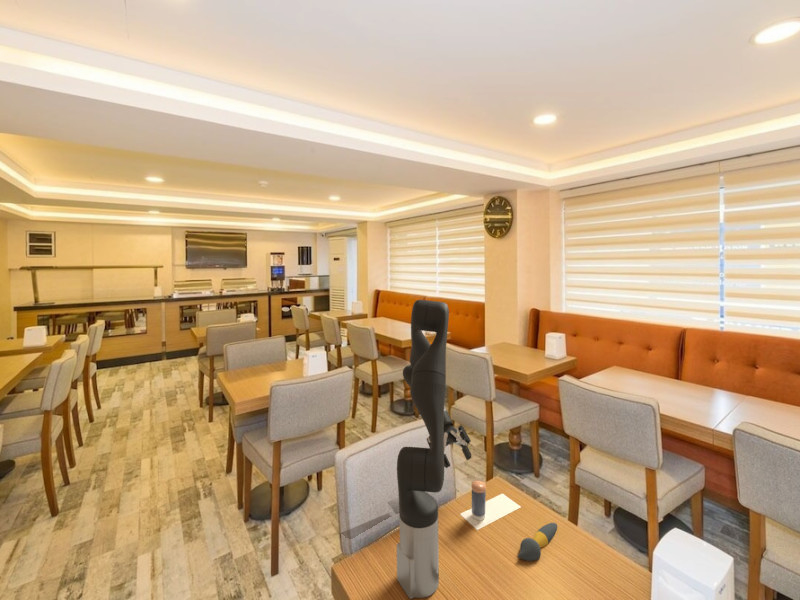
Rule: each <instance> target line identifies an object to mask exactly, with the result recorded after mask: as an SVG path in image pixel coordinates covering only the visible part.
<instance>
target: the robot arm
mask: <svg viewBox="0 0 800 600" xmlns="http://www.w3.org/2000/svg"><path fill="white" fill-rule="evenodd" d="M449 310H450V309H449V306H448V304H447V302H443V301H436V300H428V299H427V300H426V299H417V300H415V302H414V303H413V306H412V308H411V315H410V340H411V341H410V342H411V350H410V355H409V365H406V366H404V368H403V370H402V377H403V380H404V381H405V383H406V384H407V385H408V386H409V388H410V390H409V392H410V397H411V401H412V403H413V404H414V406H415V408H416V410H417V411H418V413H419V415H420V417H421V419H422V421H423V423H424V425H425V428H426V430H427V432H428V436H427V437H426V442H427V444H428V447H418V446H417V447H416V446H403V447H402V448H401V449H400V450H399V453H398V456H397V458H396V459H397V460H396V461H397V462H396V477H397V490H398V507H399V512H398V514H399V542H398V543H396V581H397V582H398V583H399V585H400V586H401V588H402V589H403V591H404V593H405V594H406V595H407V597H408V598H409V600H413V599H414V598H415V599H416V598H417V599H418V598H420V599H422V598H428V597H430V596H431V595H433V594H434V593H435V592H436V591H437V589H438V587H439V581H440V580H439V579H440V577H439V576H440V574H439V573H440V570H439V568H440V567H439V566H440V565H439V560H440V559H439V557H440V556H439V505H438V502H437V500H436V499H435V497H434V496H432V495H431V494H430V493H439V492H441V491H442V488H443V486H444V481H445V469H448V468H450V467H451V463H450V461H449V459H448V456H447V454H446V453H445V449H446V447H447V446H449V445H450V446H451V445H453V444H454V445H456V446H458V447H460V448H461V451H462V453H463V455H464V458H465V460H466V461H468V460H471V459H472V453H471V451H470V448H469V446H468V445H469V444H470V443H471V439H470V437H469V435H468V433H467V432H466V430H465V427H464V426H463V425H462V424H460V425H458V427H455V426H454V422H453V419H452V418H451V415H450V414H449V412H448V409H447V407H446V404H445V403H446V402H445V401H446V385H447V381H446V379H447V374H446V373H447V365H446V364H447V361H446V360H447V359H446V358H447V341H448V333H449V320H450V319H449V318H450V311H449ZM423 331H424V332H432V333H435V337H434V339H433V340H432V342H431V343H430V341H429V340H428V339H427V337H426V335H424V333H423Z"/></svg>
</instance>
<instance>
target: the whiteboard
mask: <svg viewBox="0 0 800 600" xmlns="http://www.w3.org/2000/svg"><path fill="white" fill-rule="evenodd" d="M520 508H522V507H521V505H519V504H518V503H516V502H515V501H513V499H511V498H509V497H508V496H507V495H505V494H504V493H500V494H498V495H496V496H494V497H491V498H490V499H488V500H486V509H485V519H484V520H483V521H476V520H474V519H473V518H472V507H471V508H470V509H468V510H465V511H463V512H461V513H459V515H460V516H461V517H462V518H463V519H465V520H466V521H467V522H468V524H469V525H471V526H472V527H473V528H475V530H476V531H478V530H480V529H482V528H484V527H486V526H488V525H490V524H491V523H493V522H496V521H497V520H500V519H501V518H503V517H505V516H507V515H509V514H511V513H513V512H515V511H516V510H519V509H520Z"/></svg>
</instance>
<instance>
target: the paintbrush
mask: <svg viewBox="0 0 800 600" xmlns="http://www.w3.org/2000/svg"><path fill="white" fill-rule="evenodd" d="M557 530H558V524H557V523H555V522H549V523H546V524H545V525H542V527H540V528H539V529H538V530H537V531H536V532H535V533H534V536H533V538H530V537H526V538H523V539H522V540H521V543H520V548H519V550H520V551H519V554H518V555H517V558H519V559H521V560H523V561H527V562H533V561H534V562H535V561H537V560H539V559H540V558H541V551H542V549H541V548H543V547H545V546H547V545H548V544H549V543H550V542H551V541H552V540H553V538H554V537H555V535H556V533H557Z"/></svg>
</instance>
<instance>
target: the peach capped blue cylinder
mask: <svg viewBox="0 0 800 600" xmlns="http://www.w3.org/2000/svg"><path fill="white" fill-rule="evenodd" d="M486 490H487V485H486V483H485V482H484V481H481V480H474V481H472V482H471V508H472V518H473V519H474V520H476V521H483V520H484V519H485V509H486V501H487V500H486V498H487V495H486V493H487V491H486Z"/></svg>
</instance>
